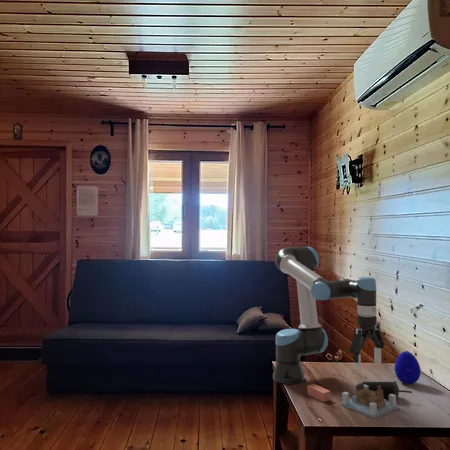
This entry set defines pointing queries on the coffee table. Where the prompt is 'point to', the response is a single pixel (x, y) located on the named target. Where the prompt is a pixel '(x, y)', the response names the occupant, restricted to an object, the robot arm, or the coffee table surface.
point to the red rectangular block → (319, 392)
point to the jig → (372, 407)
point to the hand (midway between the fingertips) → (367, 366)
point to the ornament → (407, 368)
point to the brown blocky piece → (369, 395)
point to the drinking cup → (386, 388)
